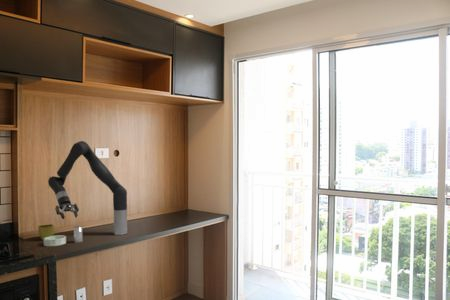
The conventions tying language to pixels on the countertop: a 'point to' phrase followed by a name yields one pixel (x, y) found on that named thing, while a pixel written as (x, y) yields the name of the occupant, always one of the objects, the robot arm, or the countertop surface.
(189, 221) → the countertop surface
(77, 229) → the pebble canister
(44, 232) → the flower pot
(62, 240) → the bowl
